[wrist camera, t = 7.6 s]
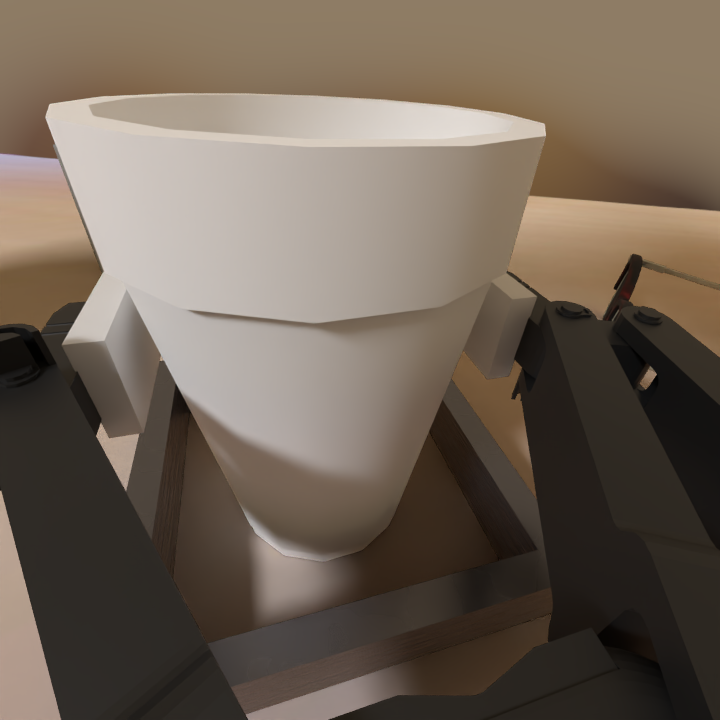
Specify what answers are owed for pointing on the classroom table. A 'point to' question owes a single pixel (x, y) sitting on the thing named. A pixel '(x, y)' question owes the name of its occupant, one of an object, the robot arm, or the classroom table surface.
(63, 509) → the robot arm
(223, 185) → the foam cup
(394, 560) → the classroom table surface
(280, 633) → the holder collar
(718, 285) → the sunglasses
